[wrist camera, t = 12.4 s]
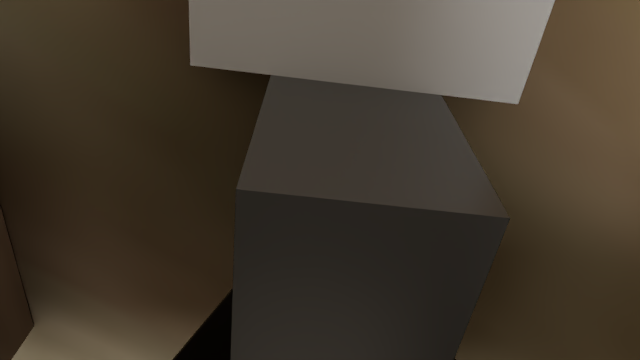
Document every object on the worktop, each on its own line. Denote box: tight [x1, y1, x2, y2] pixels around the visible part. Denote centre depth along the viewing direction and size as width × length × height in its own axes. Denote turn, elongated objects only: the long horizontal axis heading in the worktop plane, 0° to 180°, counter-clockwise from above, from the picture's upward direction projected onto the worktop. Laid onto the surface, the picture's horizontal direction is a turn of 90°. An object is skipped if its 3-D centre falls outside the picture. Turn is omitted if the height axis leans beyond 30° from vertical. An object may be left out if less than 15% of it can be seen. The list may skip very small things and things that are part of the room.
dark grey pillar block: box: [189, 0, 555, 360], centre depth 7 cm, size 16×5×4 cm, turn 173°
